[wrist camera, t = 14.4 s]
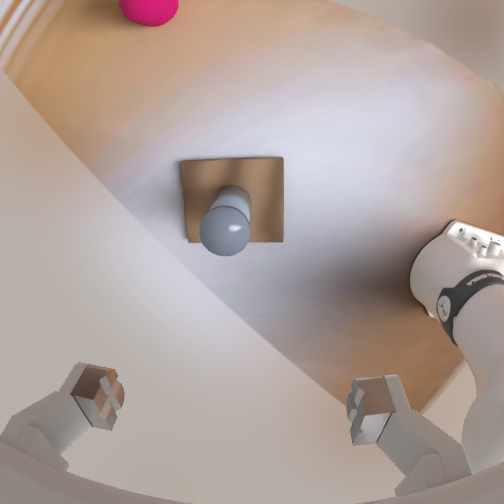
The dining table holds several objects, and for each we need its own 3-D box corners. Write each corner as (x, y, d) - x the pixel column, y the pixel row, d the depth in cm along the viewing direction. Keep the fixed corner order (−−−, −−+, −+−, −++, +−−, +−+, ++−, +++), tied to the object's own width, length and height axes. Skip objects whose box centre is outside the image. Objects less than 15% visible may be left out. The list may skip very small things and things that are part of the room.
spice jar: (251, 183, 42) (248, 207, 32) (253, 220, 45) (251, 255, 35) (212, 185, 43) (196, 210, 33) (215, 222, 45) (202, 256, 35)
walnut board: (283, 157, 42) (283, 159, 41) (282, 237, 47) (283, 242, 46) (183, 160, 43) (180, 162, 42) (190, 238, 48) (188, 242, 47)
